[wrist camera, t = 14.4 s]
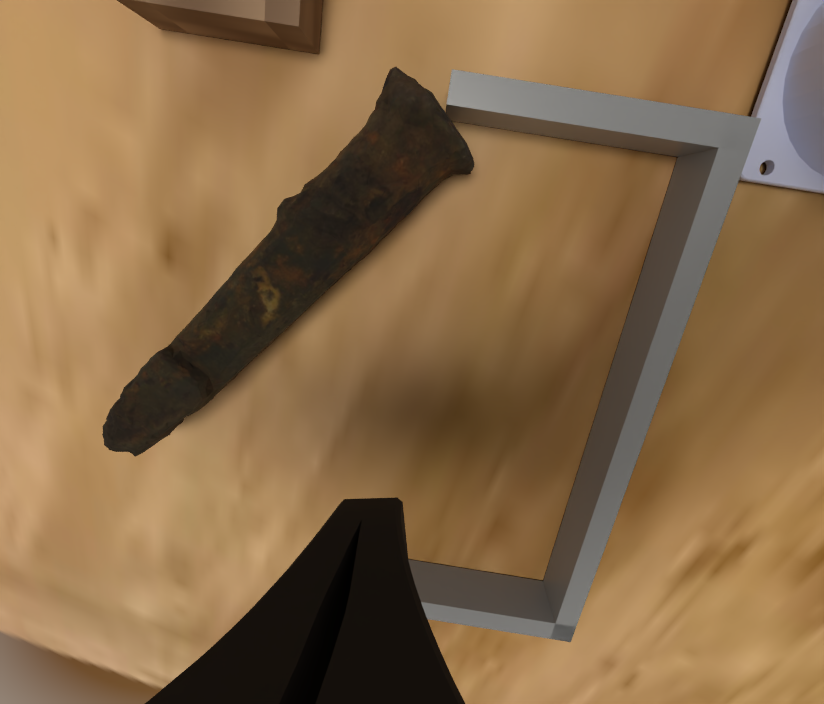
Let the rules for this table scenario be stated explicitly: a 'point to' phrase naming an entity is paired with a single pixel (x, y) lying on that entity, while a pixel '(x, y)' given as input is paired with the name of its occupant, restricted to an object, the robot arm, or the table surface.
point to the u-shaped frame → (640, 340)
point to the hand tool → (297, 259)
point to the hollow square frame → (239, 20)
